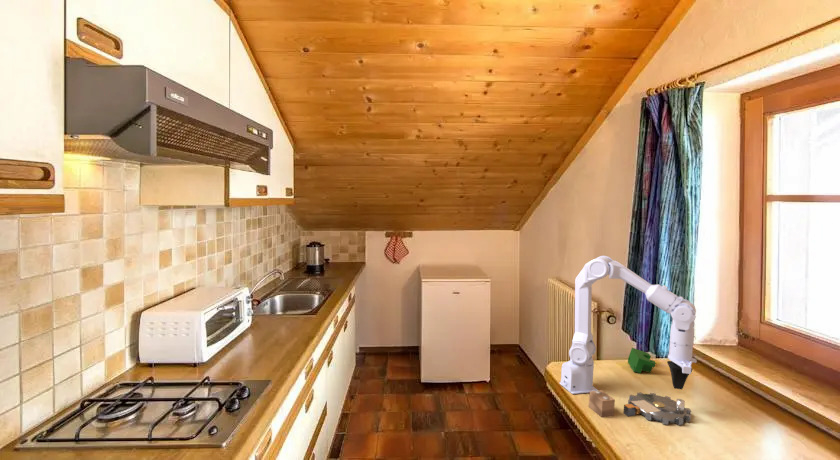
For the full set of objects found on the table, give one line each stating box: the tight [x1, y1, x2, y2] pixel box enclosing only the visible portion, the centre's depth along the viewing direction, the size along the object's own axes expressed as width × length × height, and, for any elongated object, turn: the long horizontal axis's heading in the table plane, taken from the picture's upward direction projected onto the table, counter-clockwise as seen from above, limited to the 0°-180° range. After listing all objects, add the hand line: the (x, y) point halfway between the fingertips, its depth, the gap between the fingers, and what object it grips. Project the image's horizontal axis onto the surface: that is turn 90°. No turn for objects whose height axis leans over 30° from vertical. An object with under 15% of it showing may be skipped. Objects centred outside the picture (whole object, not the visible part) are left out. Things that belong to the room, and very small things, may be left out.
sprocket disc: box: [627, 391, 692, 426], centre depth 125 cm, size 16×16×5 cm
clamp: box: [627, 347, 657, 374], centre depth 157 cm, size 12×6×9 cm
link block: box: [588, 390, 616, 418], centre depth 125 cm, size 6×4×5 cm, turn 13°
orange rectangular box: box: [623, 403, 636, 417], centre depth 123 cm, size 2×2×3 cm
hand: (677, 388), depth 124 cm, fingers closed
